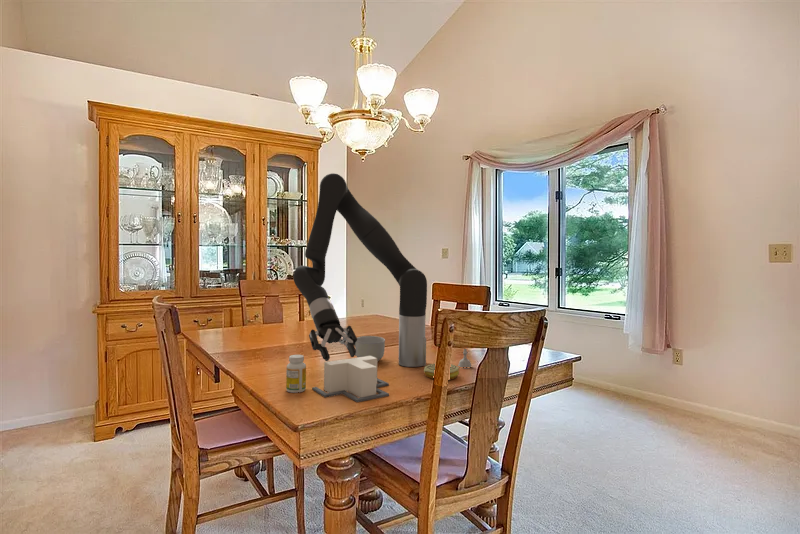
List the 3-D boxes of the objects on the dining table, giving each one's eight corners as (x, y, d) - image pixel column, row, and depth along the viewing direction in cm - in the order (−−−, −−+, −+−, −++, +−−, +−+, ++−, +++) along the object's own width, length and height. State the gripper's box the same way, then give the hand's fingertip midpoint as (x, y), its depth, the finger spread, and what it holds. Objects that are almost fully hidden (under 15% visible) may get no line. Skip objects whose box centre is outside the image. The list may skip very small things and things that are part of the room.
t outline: (312, 389, 126) (312, 387, 126) (373, 378, 138) (374, 376, 138) (338, 406, 113) (338, 403, 113) (404, 392, 125) (404, 390, 125)
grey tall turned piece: (471, 370, 149) (472, 316, 149) (452, 367, 152) (452, 315, 152) (477, 365, 156) (478, 313, 155) (458, 363, 159) (459, 312, 158)
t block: (324, 390, 126) (324, 362, 125) (370, 382, 134) (370, 355, 134) (344, 402, 116) (344, 371, 115) (392, 392, 124) (392, 364, 124)
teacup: (386, 357, 166) (386, 336, 166) (382, 364, 155) (382, 341, 155) (349, 356, 167) (349, 335, 167) (343, 363, 156) (343, 340, 156)
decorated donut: (434, 371, 149) (434, 359, 149) (464, 376, 143) (464, 364, 143) (418, 378, 140) (418, 366, 140) (449, 383, 134) (449, 371, 134)
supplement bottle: (291, 394, 122) (291, 359, 121) (282, 389, 126) (283, 355, 125) (309, 390, 125) (309, 356, 125) (300, 386, 129) (300, 353, 129)
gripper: (306, 309, 137) (322, 353, 128) (347, 306, 145) (366, 347, 136) (299, 324, 141) (315, 368, 132) (340, 320, 150) (357, 361, 141)
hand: (341, 357), depth 134 cm, fingers open, 8 cm apart
